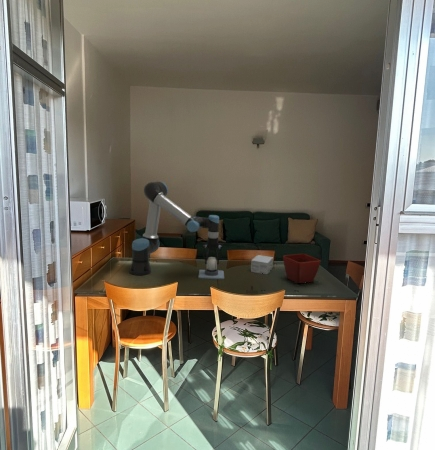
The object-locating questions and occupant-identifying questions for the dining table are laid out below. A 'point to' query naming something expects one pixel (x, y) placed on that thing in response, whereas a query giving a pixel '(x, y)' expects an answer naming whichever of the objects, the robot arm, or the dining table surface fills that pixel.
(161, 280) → the dining table surface
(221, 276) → the barrel board
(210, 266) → the plug cap
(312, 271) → the plant pot
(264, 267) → the supplement box
